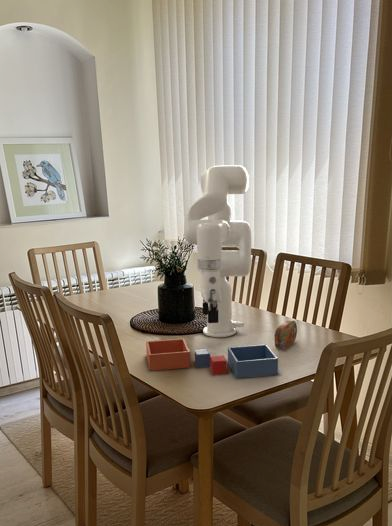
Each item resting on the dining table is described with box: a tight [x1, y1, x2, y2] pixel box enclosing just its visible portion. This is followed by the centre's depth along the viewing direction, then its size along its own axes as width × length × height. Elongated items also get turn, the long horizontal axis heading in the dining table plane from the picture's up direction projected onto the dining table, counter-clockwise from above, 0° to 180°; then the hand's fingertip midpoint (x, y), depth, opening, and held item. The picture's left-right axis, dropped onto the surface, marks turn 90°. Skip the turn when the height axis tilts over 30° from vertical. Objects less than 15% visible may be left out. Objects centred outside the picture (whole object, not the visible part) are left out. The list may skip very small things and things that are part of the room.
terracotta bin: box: [145, 338, 191, 372], centre depth 183 cm, size 13×13×6 cm
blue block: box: [194, 348, 211, 368], centre depth 181 cm, size 4×4×4 cm
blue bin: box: [227, 344, 279, 379], centre depth 176 cm, size 13×13×6 cm
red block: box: [209, 355, 228, 376], centre depth 175 cm, size 4×4×4 cm
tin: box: [274, 320, 298, 351], centre depth 195 cm, size 15×3×8 cm, turn 148°
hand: (210, 318), depth 172 cm, fingers open, 9 cm apart
